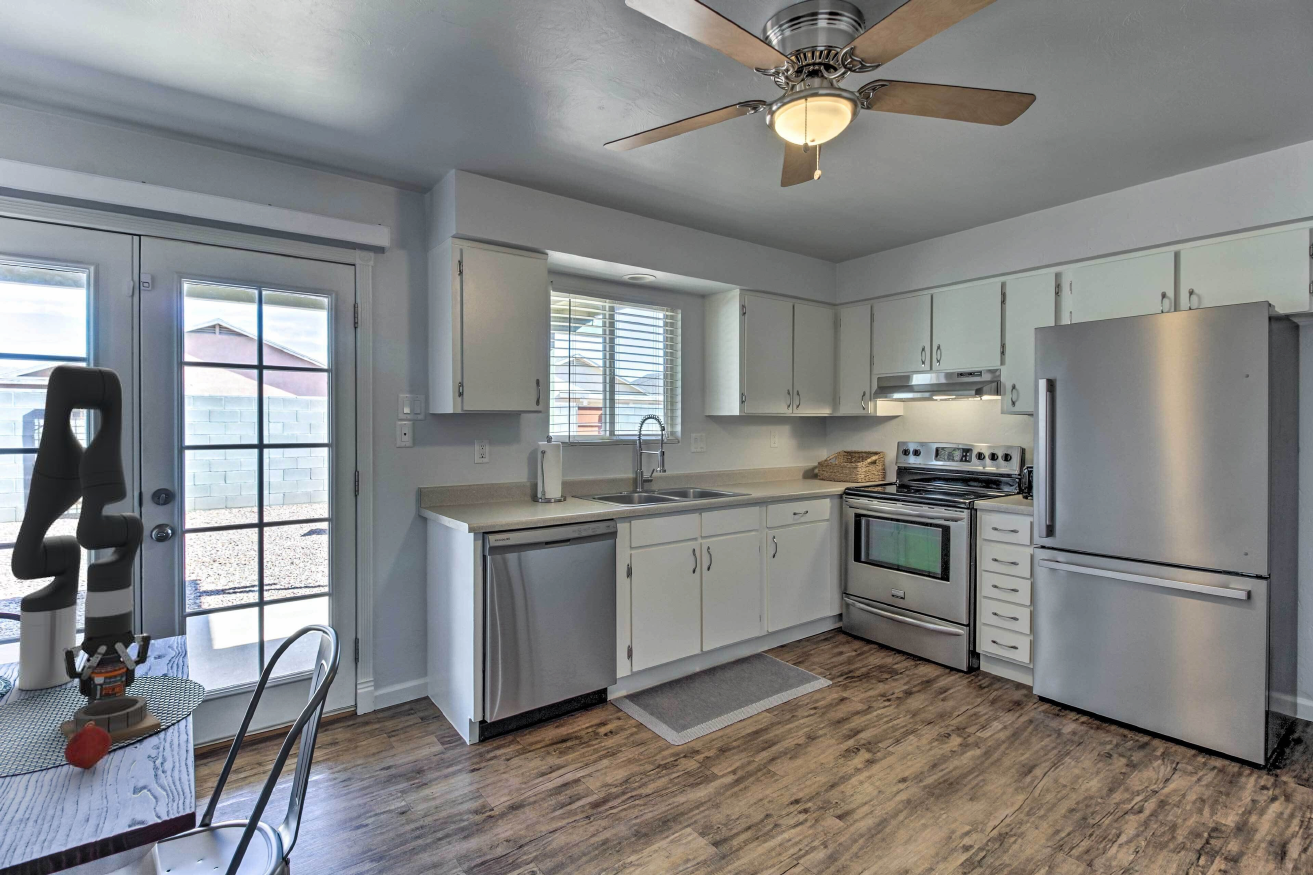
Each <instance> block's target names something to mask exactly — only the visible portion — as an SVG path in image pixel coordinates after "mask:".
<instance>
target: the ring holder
mask: <svg viewBox="0 0 1313 875" xmlns="http://www.w3.org/2000/svg"><path fill="white" fill-rule="evenodd" d="M72 718H73V719H69V720H67V721H62V722H60V727H59V729H60V730H61V731H60V732H61V733H63V734H64V735H63V734H62V735H63V736H64V738H65V737H66V738H67V739H66V738H65V739H66V741H67V742H68V741H70V739H71V738H72V737H73V736H74V735H75V734H76V733H77V732H78V731H80V730H81V729H82V728H84V727H85V726H86V724H88V723H89V722H92V721H94V722H95V726H96V727H100V728H102V729H104V730H105V731H107V732H108V734H109V735H110V737H111V745H113V744H116V743H117V744H118V743H121V742H124V741H127V740H131V739H133V738H134V737H135V738H138V737H142V736H144V735H143V734H145V735H147V734H146V733H148V734H151V733H150V732H152V731H155V730H158V729H161V728H162V726H161V725H162V723H161V721H160V720H159V719H158V718H157V717H156V716H155V715H154V714H152V713H151V712H150V711H149V710H148V699H147V698H145V697H144V696H142V695H141V696H140V695H126V696H122V697H114V698H109V699H105V700H101V701H97V702H94V703H91V704H89V705H88V704H86V705H84V706H82V707H80V708H78V709H77V710H76V711H75V712H74V713H73V715H72ZM155 732H156V731H155ZM152 733H153V732H152Z"/></svg>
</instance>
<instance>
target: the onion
mask: <svg viewBox="0 0 1313 875" xmlns="http://www.w3.org/2000/svg"><path fill="white" fill-rule="evenodd" d="M111 746H112V744H111V737H110V735H109V734H108V732H107V731H105V730H104V729H102V728H100V727H96V726H95V722H94V721H92V722H89V723H88V724H86V726H85V727H84V728H82V729H81V730H80V731H78V732H77V733H76V734H75V735H74V736H73V737H72V738H71V739H70V741H69V742H68V743H67V745H66V747H65V748H64V749H65V750H64V759H65V761H67V763H68V764H69V765H70V766H72V767H74V768H78V769H83V770H91V769H93V768H94V767H95V765H97V764H98V763H99V762H100V761H101V760H102V759H104V758H105V756H107V755H108V753H109V752H110V749H111Z"/></svg>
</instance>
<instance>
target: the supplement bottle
mask: <svg viewBox="0 0 1313 875" xmlns="http://www.w3.org/2000/svg"><path fill="white" fill-rule="evenodd" d="M126 668H127V665H126V664H125V662H124V661H122V659H121V656H120V654H119V653H118V654H113V655H108V656H102V657H101V658H100V660H99V662H98V663H97V665H96V667H95V668H94V669H93V670H92V672H91V674H90V676H89V678H90V696H89V697H87V705H89V704H91V703H94V702H97V701H101V700H105V699H109V698H114V697H122V696H127V695H126V694H127V690H126V689H127V688H126V673H127V672H126Z"/></svg>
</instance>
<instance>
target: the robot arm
mask: <svg viewBox="0 0 1313 875" xmlns="http://www.w3.org/2000/svg"><path fill="white" fill-rule="evenodd" d="M121 380H122V379H121V378H120V376H119V374H118V372H116V371H115V370H114V369H112V368H107V367H101V366H100V367H97V366H85V365H84V366H83V365H75V364H74V365H73V364H61V365H60V364H59V365H57V366H55V367H54V368H53V369H52V371H51V373H50V375H49V378H48V381H47V386H46V387H47V388H46V393H45V394H46V396H45V407H44V414H43V425H42V431H41V435H40V441H39V445H38V448H37V454H36V457H35V461H34V465H33V470H32V475H31V477H30V478H31V479H30V486H29V491H28V497H27V503H26V507H25V512H24V516H23V520H22V521H21V522H22V523H21V525H20V528H19V531H18V534H17V536H16V539H15V544H14V546H13V550H12V554H11V560H10V561H11V562H10V569H11V572H12V575H13V577H15V579H17V580H20V581H31V580H38V579H47V578H53V579H52V581H51V582H50V583H48V584H47V585H45V586H44V587H42V588H40V589H38V590H35V591H33V592H31V593H29V594H27V595H24V596H23V597H22V599H21V600H20V615H19V616H20V619H19V620H20V622H19V625H20V628H19V658H18V659H19V661H18V664H19V666H18V667H19V668H18V689H19V690H24V691H32V690H35V691H36V690H43V689H48V688H54V687H58V686H60V685H64V684H67V683H69V682H71V681H74V680H78V692H79V694H80V695H81V696H83V698H88V697H89V696H90V678H89V676H90V674H91V672H92V670H93V669H94V668H95V667H96V665H97V663H98V662H99V660H100V658H101V657H102V656H108V655H113V654H118V653H119V654H120V656H121V660H122V661H124V662H125V664H126V665H127V668H126V672H127V673H126V689H127V688H130V687H131V686H132V684H134V683H135V681H136V668H137V667H138V666H140V665H143V664H146V662H147V661H148V660H147V658H148V655H149V649H150V644H151V641H152V640H151V639H152V636H151V635H149V634H148V633H146V632H143V633H142V634H134V633H133V610H134V601H133V600H134V599H133V598H134V597H133V596H134V595H133V588H132V586H133V585H132V583H133V580H132V579H133V578H132V577H133V573H132V571H133V565H134V562H135V559H136V556H137V554H138V550H139V547H140V545H141V543H142V540H143V539H142V538H144V531H145V527H144V523H143V520H142V518H141V517H140V516H139V515H137V514H136V513H132V512H123V513H114V514H113V513H111V514H103V510H104V508H105V507H106V506H110V505H114V504H117V503H120V502H123V501H124V500H125V499H126V498H127V494H128V491H127V484H126V478H125V471H124V470H125V469H124V466H123V456H122V455H123V454H122V452H123V451H122V444H123V443H122V440H123V437H122V436H123V411H124V410H123V407H124V406H123V405H124V403H123V402H124V401H123V398H124V397H123V396H124V393H123V386H122V381H121ZM73 410H88V411H89V410H92V411H93V410H95V411H96V410H97V411H99V418H100V421H99V426H98V428H97V431H96V432H95V435H94V436H93V438H92V440H91V442H90V443H89V444H88V446H87V447H86V448H85V447H84V446H83V444H82V443H81V442H80V440H79V439H78V437H77V436H76V435H75V434H76V433H75V432H74V430H73V428H72V426H71V425H72V424H71V414H72V412H73ZM80 499H81V506H80V511H79V512H80V513H79V518H78V522H77V525H76V531H75V536H74V535H73V534H66V535H65V534H63V535H53V536H52V535H51V536H46V535H47V533H48V531H49V529H50V528H51V527H52V525H53V524H54V523H55V522H56V521H57V520H58V519H59V518H60V517H61V516H63V515H64V514H65V513H66V512H67V511H68V510H69V509H71V508H72V507H73V506H74V505H75V504H76V503H77V502H79V501H80ZM82 548H83V549H85V550H87V551H98V550H105V549H113V551H112V552H111V554H110V555H108V556H107V557H104V558H102V559H101V558H100V559H99V560H95V561H94V562H92V563H90V564H89V565H88V567H87V573H86V574H87V575H86V594H85V601H84V621H83V622H84V628H83V630H84V631H83V632H84V633H83V640H82V642H81V643H80V644H79V645H77V608H78V607H77V606H78V604H77V602H78V595H79V593H78V592H79V587H80V586H79V584H80V580H79V579H80V570H81V562H82ZM134 641H135V644H136V645H138V648H137V653H136V657H135V658H132V657H131V655H130V653H129V652H128V651H127V650H128V649H129V648H130V646H131V645H132V644H133V643H134ZM81 651H83V652H84V653H85V654H86V655H87V656H86V659H85V660H84V663H83V665H82V666H81V668H80V670H77V666H76V660H77V658H78V657H79V656H80V655H79V653H80V652H81Z"/></svg>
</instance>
